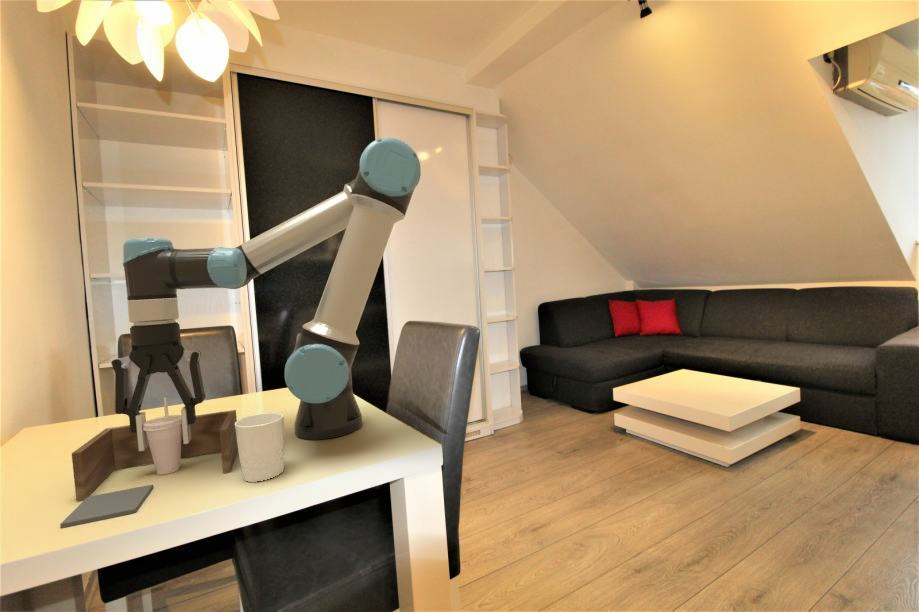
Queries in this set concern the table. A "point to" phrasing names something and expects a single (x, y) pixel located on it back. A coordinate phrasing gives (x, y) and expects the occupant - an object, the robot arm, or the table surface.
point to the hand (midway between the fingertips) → (166, 444)
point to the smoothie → (165, 441)
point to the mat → (108, 506)
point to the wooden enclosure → (123, 452)
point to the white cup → (261, 446)
